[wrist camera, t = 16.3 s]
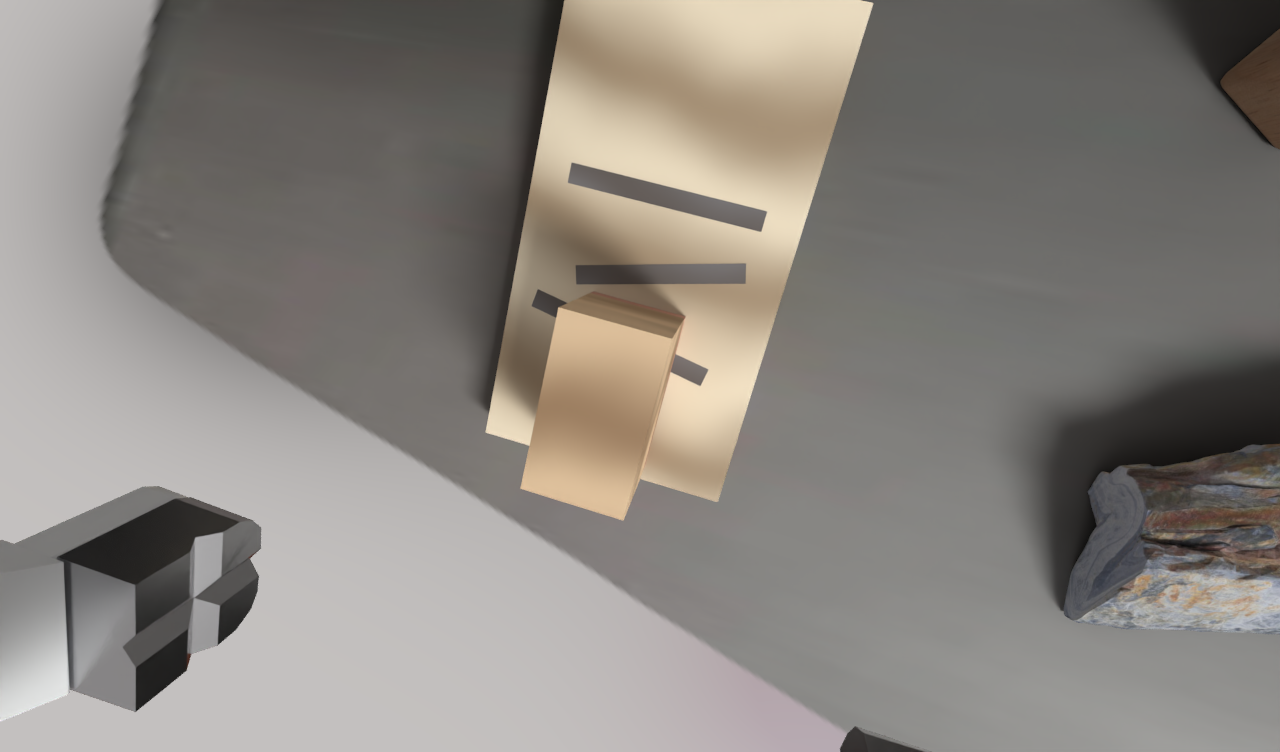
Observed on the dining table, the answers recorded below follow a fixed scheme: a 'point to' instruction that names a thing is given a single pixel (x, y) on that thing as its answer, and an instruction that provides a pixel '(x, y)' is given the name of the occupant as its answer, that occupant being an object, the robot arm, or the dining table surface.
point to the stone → (1184, 546)
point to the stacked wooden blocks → (1258, 87)
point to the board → (677, 197)
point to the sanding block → (600, 401)
